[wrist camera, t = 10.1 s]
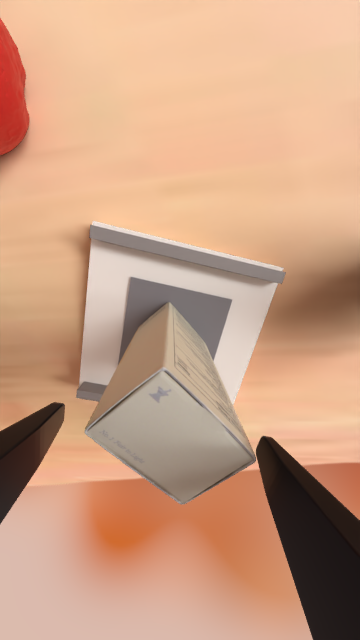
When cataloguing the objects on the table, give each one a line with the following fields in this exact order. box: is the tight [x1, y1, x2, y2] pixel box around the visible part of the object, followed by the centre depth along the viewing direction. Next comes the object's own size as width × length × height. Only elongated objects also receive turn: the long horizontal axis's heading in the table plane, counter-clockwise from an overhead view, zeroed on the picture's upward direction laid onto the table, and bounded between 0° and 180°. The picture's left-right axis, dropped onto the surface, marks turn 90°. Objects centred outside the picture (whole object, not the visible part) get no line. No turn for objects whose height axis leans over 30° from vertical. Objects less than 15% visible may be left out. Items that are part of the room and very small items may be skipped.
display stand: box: [76, 221, 286, 405], centre depth 19 cm, size 18×18×3 cm
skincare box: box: [85, 302, 256, 504], centre depth 13 cm, size 6×4×12 cm
